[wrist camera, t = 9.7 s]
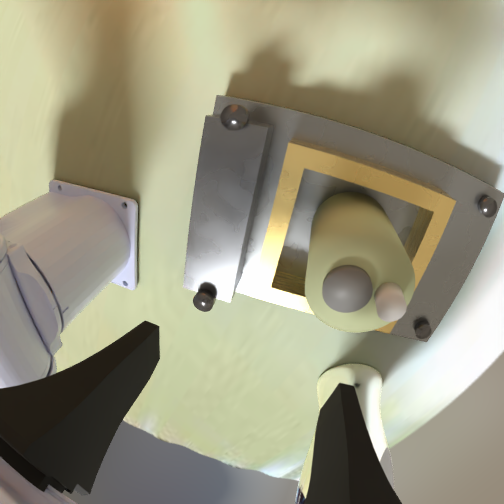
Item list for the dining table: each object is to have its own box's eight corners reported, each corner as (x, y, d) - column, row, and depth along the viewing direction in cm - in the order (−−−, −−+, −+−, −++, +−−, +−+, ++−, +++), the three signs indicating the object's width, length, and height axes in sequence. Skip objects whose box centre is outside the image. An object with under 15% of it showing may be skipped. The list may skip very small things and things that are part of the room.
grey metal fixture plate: (197, 266, 22) (171, 303, 18) (224, 95, 16) (194, 93, 12) (422, 329, 20) (435, 372, 16) (494, 187, 14) (530, 212, 10)
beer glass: (379, 350, 22) (387, 531, 9) (391, 395, 24) (395, 541, 11) (300, 369, 25) (269, 535, 12) (324, 410, 27) (306, 547, 14)
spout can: (304, 257, 18) (292, 337, 12) (319, 183, 16) (317, 236, 10) (376, 272, 18) (394, 354, 11) (398, 202, 15) (439, 263, 9)
